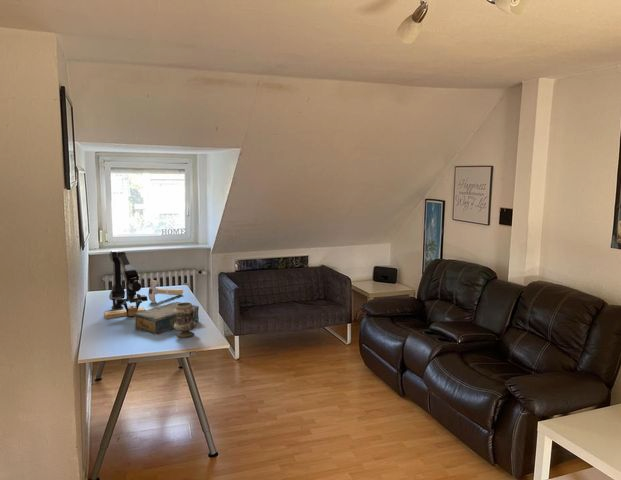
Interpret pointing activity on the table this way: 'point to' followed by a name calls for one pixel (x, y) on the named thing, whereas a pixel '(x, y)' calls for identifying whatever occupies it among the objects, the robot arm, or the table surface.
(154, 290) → the hammer
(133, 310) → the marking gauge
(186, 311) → the apothecary jar
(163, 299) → the table surface
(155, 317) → the metal box
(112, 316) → the board
